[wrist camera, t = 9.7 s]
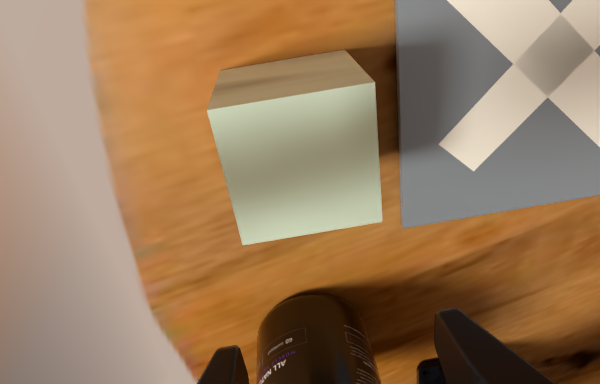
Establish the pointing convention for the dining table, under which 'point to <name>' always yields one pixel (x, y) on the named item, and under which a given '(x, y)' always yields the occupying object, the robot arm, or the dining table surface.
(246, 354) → the dining table surface
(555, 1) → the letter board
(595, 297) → the dining table surface
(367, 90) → the sage cube
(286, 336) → the supplement bottle
